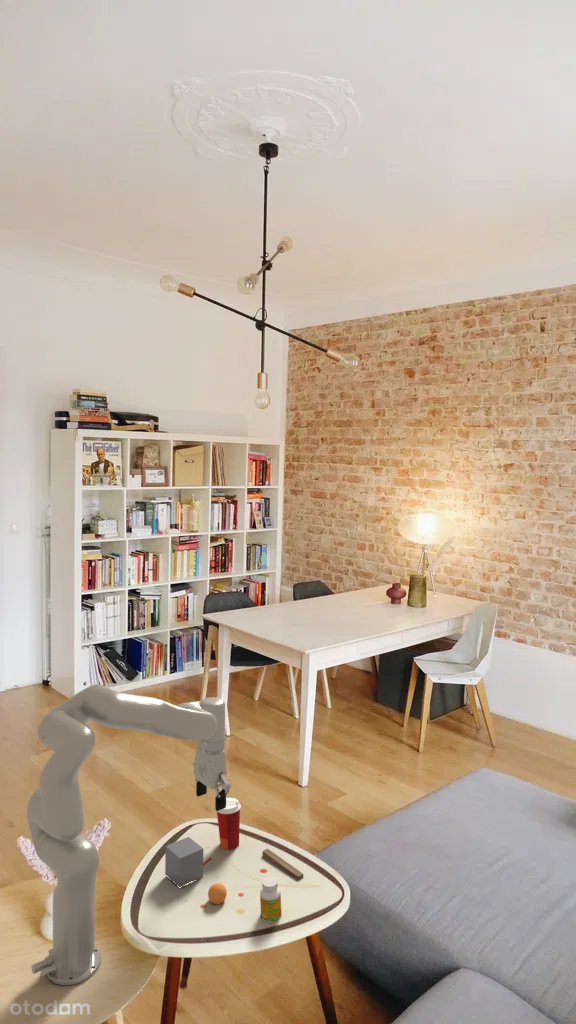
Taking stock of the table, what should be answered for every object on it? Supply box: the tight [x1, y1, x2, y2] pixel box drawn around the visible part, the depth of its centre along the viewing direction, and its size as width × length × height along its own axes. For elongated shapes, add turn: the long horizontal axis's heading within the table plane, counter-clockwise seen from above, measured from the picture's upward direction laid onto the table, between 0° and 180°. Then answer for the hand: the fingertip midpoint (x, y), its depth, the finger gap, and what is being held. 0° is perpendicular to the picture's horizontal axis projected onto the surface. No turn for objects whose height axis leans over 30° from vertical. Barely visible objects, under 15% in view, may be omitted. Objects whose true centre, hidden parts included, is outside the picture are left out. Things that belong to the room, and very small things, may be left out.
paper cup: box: [216, 797, 242, 851], centre depth 208 cm, size 8×8×14 cm
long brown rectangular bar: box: [261, 848, 304, 881], centre depth 198 cm, size 2×16×2 cm, turn 41°
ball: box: [207, 882, 228, 905], centre depth 183 cm, size 5×5×5 cm
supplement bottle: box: [259, 876, 282, 922], centre depth 177 cm, size 5×5×10 cm
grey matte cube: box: [164, 836, 204, 887], centre depth 193 cm, size 8×8×9 cm
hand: (210, 801), depth 191 cm, fingers open, 9 cm apart
